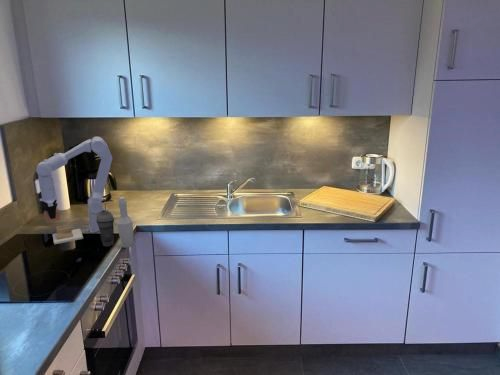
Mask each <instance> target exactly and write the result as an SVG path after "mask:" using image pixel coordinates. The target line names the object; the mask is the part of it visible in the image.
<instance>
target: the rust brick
mask: <svg viewBox="0 0 500 375" xmlns="http://www.w3.org/2000/svg"><path fill="white" fill-rule="evenodd" d="M43 214H44V215H43V216H44V220H45V223H46V224H47V223H52V222H58V221H59V222H60V221H61V217H60V212H59V208H56V218H54V219H50V217H49V214H48V212H47V210H43Z"/></svg>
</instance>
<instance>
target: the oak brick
mask: <svg viewBox="0 0 500 375" xmlns="http://www.w3.org/2000/svg"><path fill="white" fill-rule="evenodd" d="M55 230H56V232H55V233H57V237H58V239H62V238H67V237H72V231H71V230H72V227H71V224H66V225H65V224H64V225H61V226H55Z"/></svg>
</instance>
